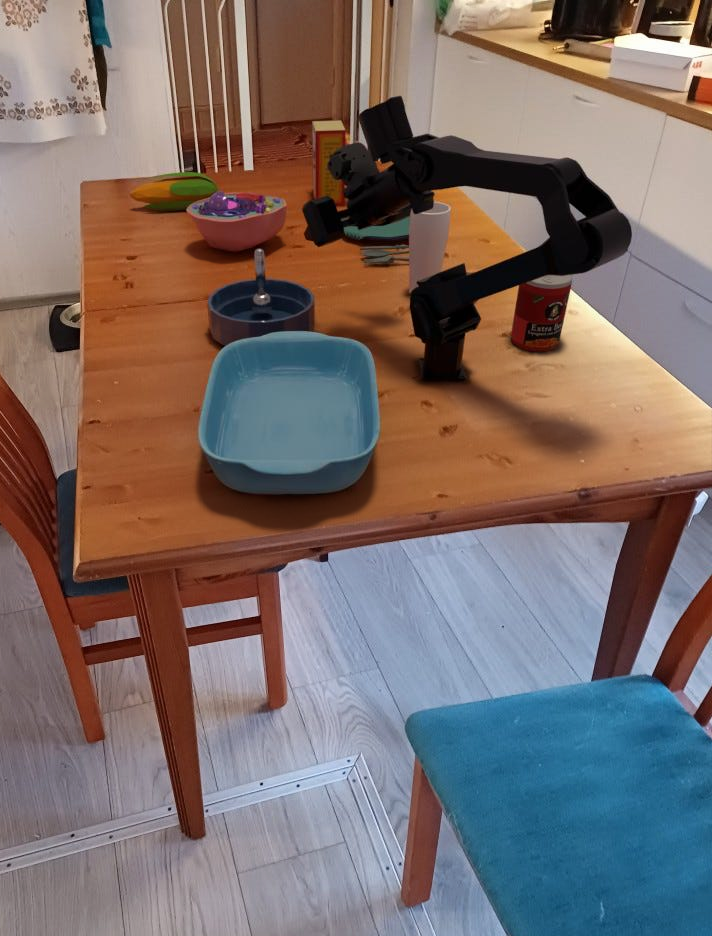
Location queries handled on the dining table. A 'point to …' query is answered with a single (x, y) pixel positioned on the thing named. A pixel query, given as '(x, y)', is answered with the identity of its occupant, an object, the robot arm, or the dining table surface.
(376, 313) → the dining table surface
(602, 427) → the dining table surface
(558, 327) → the canned food
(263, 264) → the silver metal pestle
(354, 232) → the cutlery set
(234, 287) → the dark blue round bowl
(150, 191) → the corn
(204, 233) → the cell model
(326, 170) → the baking soda box
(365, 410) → the casserole dish
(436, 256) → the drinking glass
